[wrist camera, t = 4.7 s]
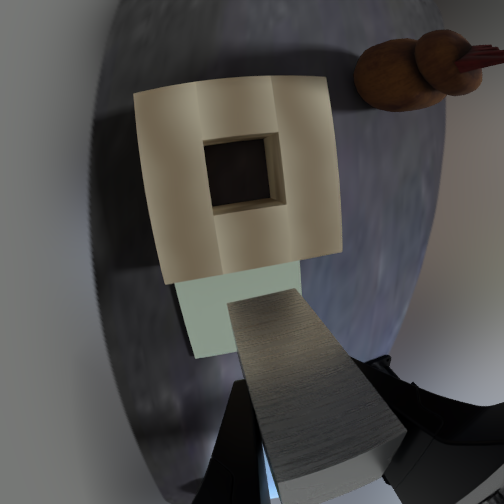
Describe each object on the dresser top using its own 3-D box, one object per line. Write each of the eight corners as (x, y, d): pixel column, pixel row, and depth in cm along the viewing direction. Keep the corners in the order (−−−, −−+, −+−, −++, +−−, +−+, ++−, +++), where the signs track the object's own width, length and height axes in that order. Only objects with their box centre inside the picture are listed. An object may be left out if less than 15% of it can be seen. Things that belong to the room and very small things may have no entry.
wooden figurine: (356, 122, 20) (516, 103, 6) (331, 61, 18) (467, -12, 4) (408, 110, 20) (544, 100, 6) (387, 55, 18) (512, 15, 4)
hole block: (304, 91, 18) (325, 77, 15) (319, 237, 22) (342, 251, 18) (145, 107, 17) (133, 93, 13) (170, 263, 20) (165, 284, 17)
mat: (297, 253, 22) (299, 254, 22) (301, 334, 25) (303, 336, 24) (173, 275, 21) (173, 277, 20) (195, 355, 23) (195, 358, 23)
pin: (295, 288, 12) (407, 430, 4) (298, 341, 13) (380, 477, 5) (226, 303, 11) (277, 483, 4) (238, 356, 12) (284, 513, 5)
